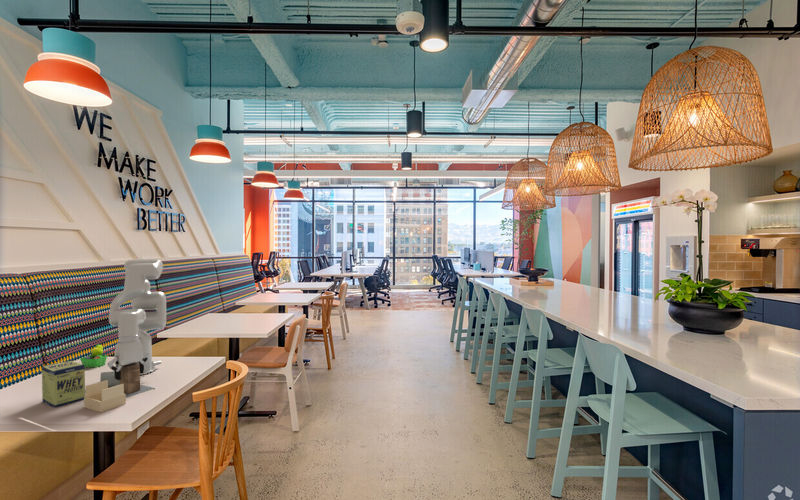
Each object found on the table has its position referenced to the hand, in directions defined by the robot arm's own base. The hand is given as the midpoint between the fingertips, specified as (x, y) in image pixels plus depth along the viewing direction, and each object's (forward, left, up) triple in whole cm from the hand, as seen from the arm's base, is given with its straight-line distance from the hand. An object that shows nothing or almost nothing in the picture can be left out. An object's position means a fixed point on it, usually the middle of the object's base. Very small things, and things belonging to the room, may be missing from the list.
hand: (129, 376), depth 178 cm
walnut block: (0, 0, -7) cm, 7 cm away
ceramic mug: (0, -17, -8) cm, 18 cm away
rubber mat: (0, 0, -7) cm, 7 cm away
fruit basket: (-17, -65, -8) cm, 67 cm away
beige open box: (+14, +8, -7) cm, 18 cm away
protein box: (+18, -16, -8) cm, 25 cm away
